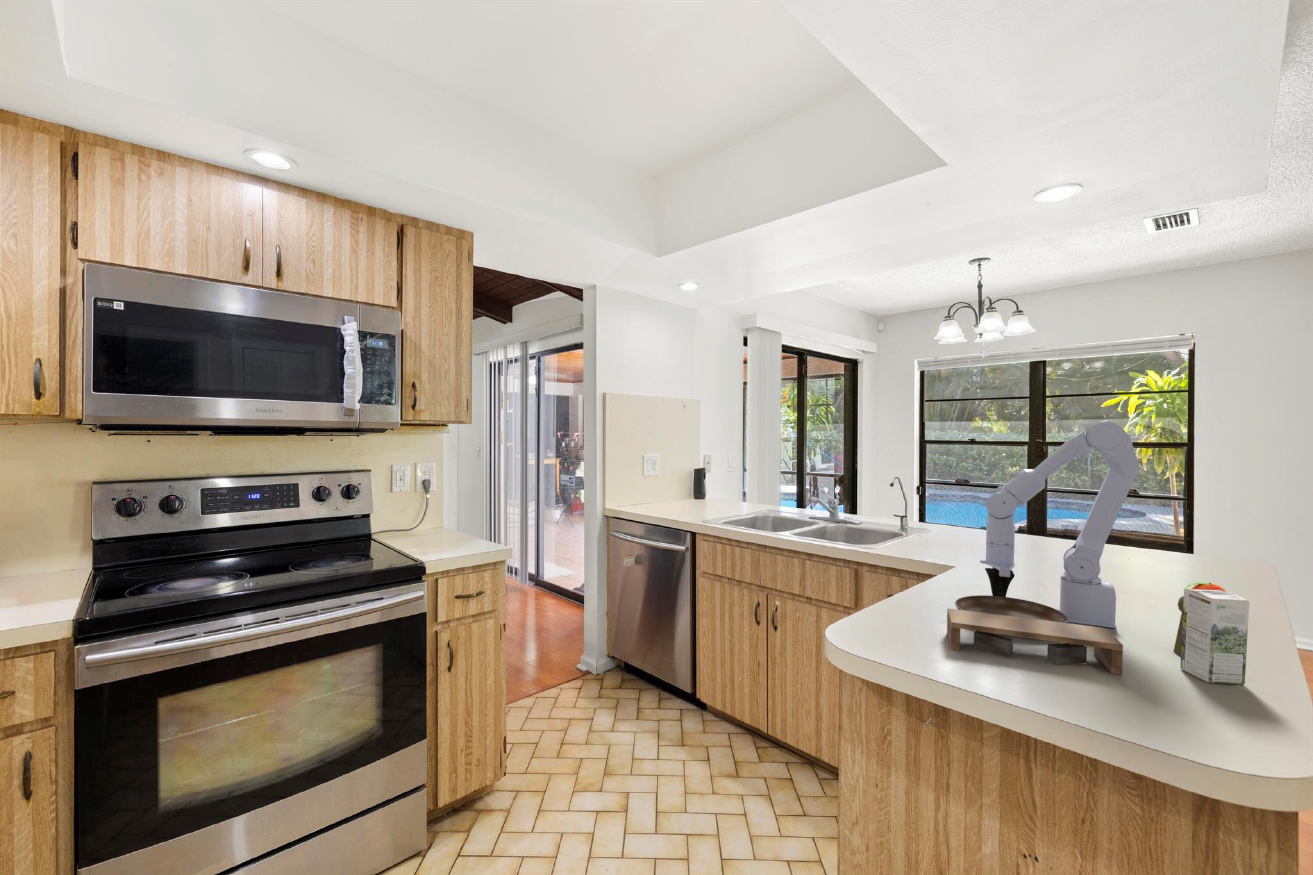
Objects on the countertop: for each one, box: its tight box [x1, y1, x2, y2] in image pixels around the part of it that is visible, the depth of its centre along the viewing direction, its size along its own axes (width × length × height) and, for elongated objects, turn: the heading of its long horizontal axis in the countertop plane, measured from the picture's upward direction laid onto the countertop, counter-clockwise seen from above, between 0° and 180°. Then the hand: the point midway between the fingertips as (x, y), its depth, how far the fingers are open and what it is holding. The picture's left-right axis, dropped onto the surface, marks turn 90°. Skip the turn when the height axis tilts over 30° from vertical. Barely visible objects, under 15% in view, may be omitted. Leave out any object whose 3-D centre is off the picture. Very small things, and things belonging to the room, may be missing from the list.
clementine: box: [1183, 582, 1227, 592], centre depth 130 cm, size 8×7×7 cm
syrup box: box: [1179, 588, 1250, 686], centre depth 95 cm, size 6×6×14 cm
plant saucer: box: [954, 594, 1068, 623], centre depth 121 cm, size 21×21×3 cm
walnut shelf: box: [946, 608, 1124, 676], centre depth 105 cm, size 26×9×5 cm, turn 67°
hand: (998, 600), depth 133 cm, fingers closed
